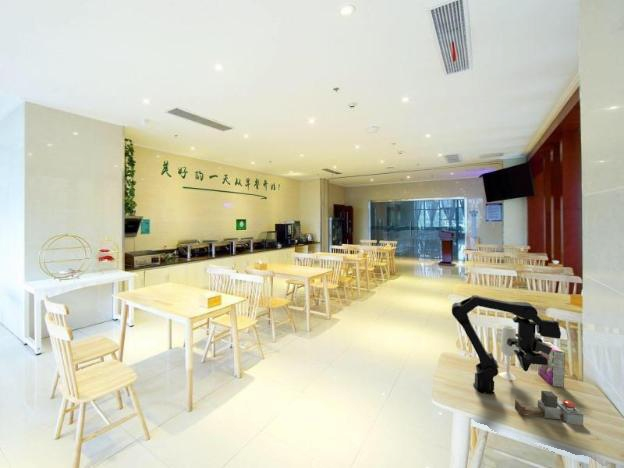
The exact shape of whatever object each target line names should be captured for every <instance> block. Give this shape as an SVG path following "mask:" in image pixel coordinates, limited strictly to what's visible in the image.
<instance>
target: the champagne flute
mask: <svg viewBox="0 0 624 468" xmlns="http://www.w3.org/2000/svg"><path fill="white" fill-rule="evenodd" d="M501 331H502V332H501V338H500V345H499V350H500V351H501V353H503V354H504V356H506V364H505V365H506V367H505V371H504V372H500V373H499V372H498V374H499V377H501V378H502V379H505V380H508V381H509V380H510V381H515V380H517V378H516V376H514V375H513V374H512V373H510V363H511V362H510V361H511V360H510V358H511V357H513V356H516V354H515V352H514V350H516V347H515V345H513V344H512V346H509V345H508V344H507V340H508V339H509V338H515V339H517V337H516V334H517V332H516V326H512V325H509V324H507V325H506V324H505V325H503V326H502V330H501Z"/></svg>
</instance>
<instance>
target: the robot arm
mask: <svg viewBox="0 0 624 468" xmlns="http://www.w3.org/2000/svg"><path fill="white" fill-rule="evenodd" d="M477 307H481V308H482V307H483V308H487V309H492V310H496V311H501V312H505V313H509V314H513V315H515V317H513V318H512V321H513V323H516V324H517V333H516V339H515V338H509V339H508V340H507V344H508V345H509V346H512V344H513V345H515V347H516V350H514V352H515V356H516V357H517V360H518V362H519V364H520V366H521V368H522V370H523V371H524V372H529V371H528V370H529V369H530V367H531V365H538V364H539V365H548V359H547V358H546V357H544V356H543V355H542V354H540V353H539V351H541V352H544V353H546V354H547V355H549V354H550V352H551V350H552V347H550V346H548V345H547V344H545V343H543V342H542V341H543V339H542V338H540V337H544V338H550V339H556V340H557V339H558V340H559V339H561V336H562V332H561V328H560V323H559V322H558V321H557V320H552V319H551V320H549V319H542V318H541V317H540V316H539V315H538V310H537V309H536V308H535V306H533V305H532V304H531V303H530V302H525V301H504V300H501V299H493V298H489V297H483V296H479V295H476V294H473V295H472V296H470V297H468V298H465V299H463V300H461V301H460V302H455V303H452V305H451V313H452V316H453V317H454V318H455V320H456V321H457V323H459V324H460V325H461V327H462V329H463V331H464V332H465V335H466V336H467V338H468V340H469V342H470V344H471V345H472V347H473V349H474V351H475V353H476V355H477V357H478V359H479V363H477V364H476V365H475V371H476V372H474V383H472V385H473V387H474V388H475V390H476V392H478V393H479V394H480V393H481V394H491V395H495V381H494V377H496V376H498V374H499V368H500V367H499V364H498V361H497V359H495V358H494V355H493V353H492V352H491V353H489V352H488V351H487V350H486V348H485V347H484V345H483V342H482V341H481V339H480V337H479V336H478V334H477V332H476V330H475V328H474V326H473V324H472V323H471V321H470V318H469V313H470V312H472V311H473V310H474V309H475V308H477ZM536 333H537V334H539V336H540V337H537V336H536Z"/></svg>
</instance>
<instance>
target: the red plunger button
mask: <svg viewBox="0 0 624 468" xmlns="http://www.w3.org/2000/svg"><path fill="white" fill-rule="evenodd" d="M562 404H563V405H564V408H565V409H566V410H572V411H573V408H576V403H575V402H574V401H572V400H568V399H562Z"/></svg>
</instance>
